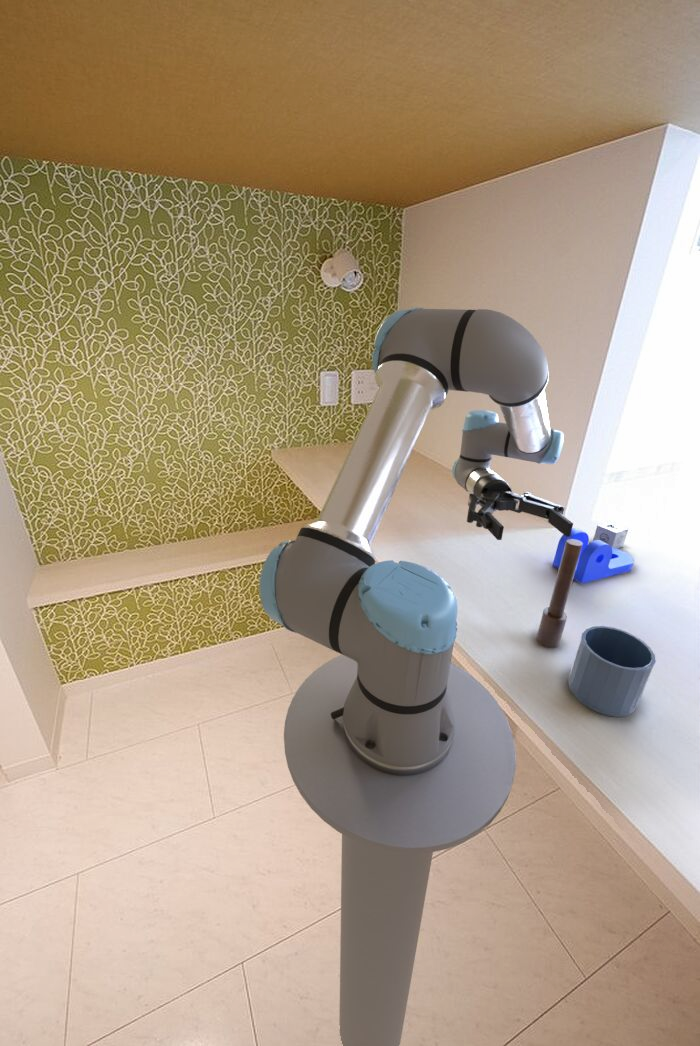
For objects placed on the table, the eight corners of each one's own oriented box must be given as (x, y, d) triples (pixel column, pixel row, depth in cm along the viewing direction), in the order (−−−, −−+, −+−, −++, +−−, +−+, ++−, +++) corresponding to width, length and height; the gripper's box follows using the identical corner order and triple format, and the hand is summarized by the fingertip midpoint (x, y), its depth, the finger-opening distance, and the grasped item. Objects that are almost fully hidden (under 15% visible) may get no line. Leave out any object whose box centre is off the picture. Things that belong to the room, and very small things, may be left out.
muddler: (543, 648, 76) (570, 548, 67) (532, 634, 79) (556, 537, 71) (563, 647, 76) (593, 547, 68) (552, 632, 80) (578, 536, 71)
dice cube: (604, 538, 114) (609, 521, 112) (622, 546, 110) (628, 528, 108) (592, 542, 112) (597, 525, 110) (610, 550, 108) (616, 533, 106)
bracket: (581, 583, 95) (592, 547, 91) (552, 564, 102) (561, 530, 98) (639, 568, 101) (651, 534, 97) (608, 552, 108) (619, 519, 104)
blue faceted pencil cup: (591, 719, 62) (609, 672, 59) (556, 671, 71) (569, 627, 67) (651, 714, 64) (671, 667, 60) (609, 667, 72) (624, 623, 68)
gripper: (536, 502, 102) (592, 546, 83) (434, 507, 99) (468, 552, 81) (543, 472, 99) (603, 510, 80) (437, 476, 96) (473, 516, 77)
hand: (535, 531), depth 80 cm, fingers open, 13 cm apart
